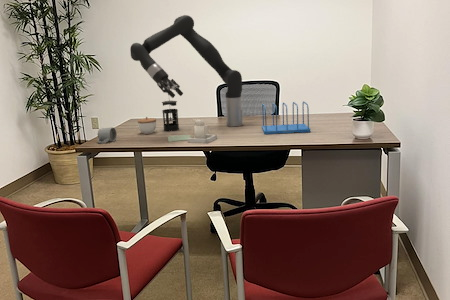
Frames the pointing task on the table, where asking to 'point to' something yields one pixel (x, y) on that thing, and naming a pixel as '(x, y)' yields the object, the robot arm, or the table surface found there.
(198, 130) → the figurine
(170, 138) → the mat
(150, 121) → the lidded jar
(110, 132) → the ceramic mug
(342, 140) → the table surface
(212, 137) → the holder
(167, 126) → the french press
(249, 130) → the table surface
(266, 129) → the file sorter
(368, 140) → the table surface
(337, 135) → the table surface
